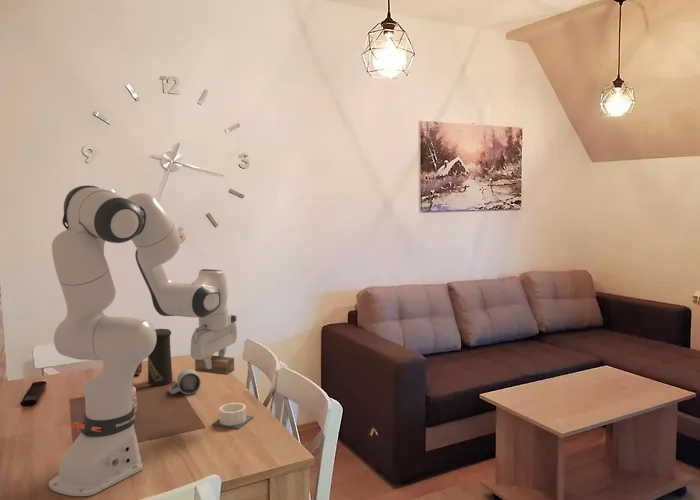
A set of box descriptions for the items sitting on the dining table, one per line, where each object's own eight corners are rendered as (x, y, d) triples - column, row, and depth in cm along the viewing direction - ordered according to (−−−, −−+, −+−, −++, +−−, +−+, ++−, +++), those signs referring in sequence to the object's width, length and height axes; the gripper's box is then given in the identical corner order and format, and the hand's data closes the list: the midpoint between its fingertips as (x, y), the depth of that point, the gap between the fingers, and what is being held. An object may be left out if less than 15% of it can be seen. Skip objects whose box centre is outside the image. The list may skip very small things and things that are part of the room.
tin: (123, 368, 222) (122, 348, 221) (131, 367, 224) (130, 347, 223) (135, 378, 211) (134, 356, 210) (143, 376, 213) (142, 355, 212)
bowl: (237, 427, 165) (237, 414, 164) (214, 423, 167) (214, 410, 167) (251, 416, 172) (250, 404, 172) (229, 413, 175) (228, 401, 174)
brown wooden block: (226, 375, 166) (226, 362, 165) (195, 371, 169) (194, 358, 169) (234, 370, 170) (234, 357, 169) (203, 366, 174) (203, 354, 173)
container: (146, 380, 208) (144, 328, 206) (171, 377, 211) (169, 326, 209) (149, 387, 200) (146, 333, 198) (174, 384, 204) (172, 331, 202)
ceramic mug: (198, 385, 202) (196, 365, 201) (201, 392, 194) (200, 371, 194) (167, 390, 198) (166, 369, 197) (170, 398, 190) (168, 376, 189)
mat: (238, 429, 164) (238, 428, 164) (212, 425, 167) (212, 423, 167) (253, 417, 172) (253, 416, 172) (228, 414, 176) (228, 412, 175)
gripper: (202, 330, 157) (204, 377, 159) (239, 314, 176) (241, 356, 178) (184, 328, 159) (186, 374, 161) (222, 313, 178) (224, 354, 180)
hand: (215, 365), depth 169 cm, fingers closed on brown wooden block, 4 cm apart
